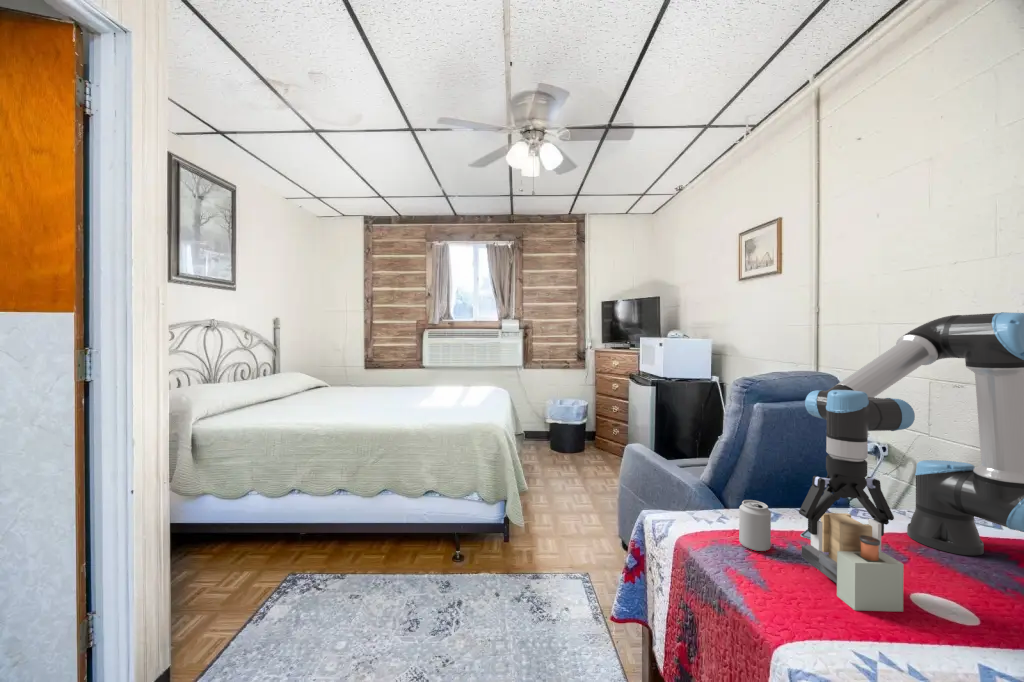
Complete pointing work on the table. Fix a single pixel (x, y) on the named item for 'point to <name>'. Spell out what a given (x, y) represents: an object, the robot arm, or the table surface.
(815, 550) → the rail
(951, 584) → the table surface
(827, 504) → the robot arm
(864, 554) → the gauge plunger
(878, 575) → the grey hollow block
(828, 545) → the carriage
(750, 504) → the can
